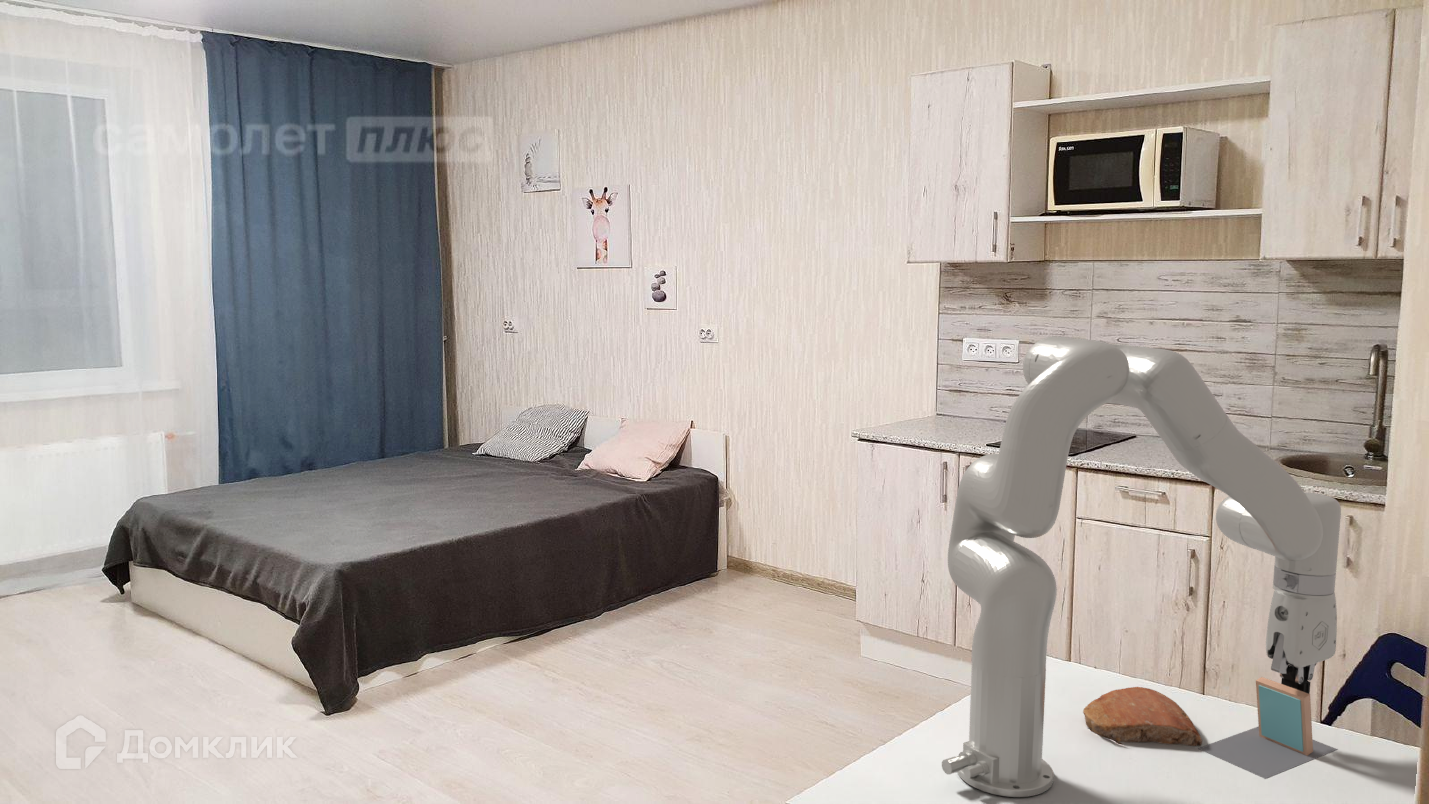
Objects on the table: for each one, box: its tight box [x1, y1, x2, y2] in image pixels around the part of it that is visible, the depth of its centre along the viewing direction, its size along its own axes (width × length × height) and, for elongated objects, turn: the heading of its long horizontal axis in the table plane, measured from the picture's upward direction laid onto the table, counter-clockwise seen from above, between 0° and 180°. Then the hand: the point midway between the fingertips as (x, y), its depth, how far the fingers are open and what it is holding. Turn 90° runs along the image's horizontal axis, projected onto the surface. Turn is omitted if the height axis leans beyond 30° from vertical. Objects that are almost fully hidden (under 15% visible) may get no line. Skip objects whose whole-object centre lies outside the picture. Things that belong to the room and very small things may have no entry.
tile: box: [1255, 676, 1314, 756], centre depth 145 cm, size 2×7×9 cm, turn 30°
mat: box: [1197, 725, 1339, 780], centre depth 145 cm, size 17×10×1 cm, turn 120°
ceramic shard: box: [1082, 686, 1203, 747], centre depth 153 cm, size 15×6×15 cm
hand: (1294, 705), depth 146 cm, fingers closed
